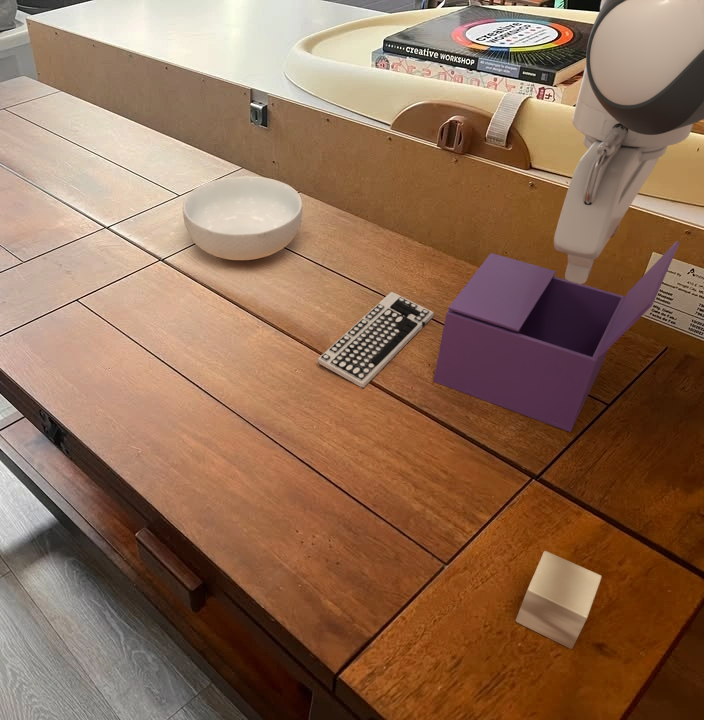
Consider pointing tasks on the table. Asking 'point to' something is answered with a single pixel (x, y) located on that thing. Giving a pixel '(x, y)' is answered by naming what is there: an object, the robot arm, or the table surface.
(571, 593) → the block
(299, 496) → the table surface
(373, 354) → the keyboard
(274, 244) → the cereal bowl
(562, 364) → the box
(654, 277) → the flap
